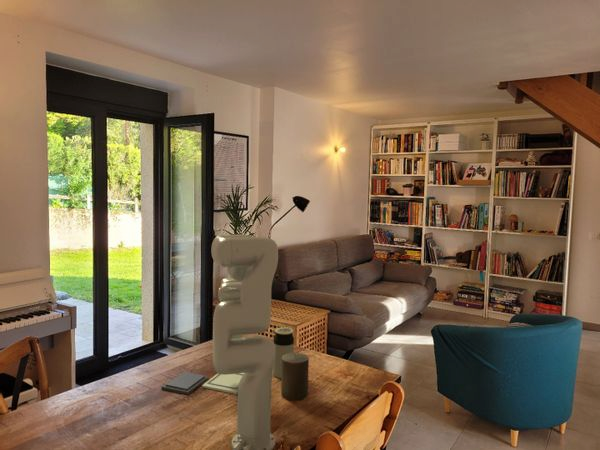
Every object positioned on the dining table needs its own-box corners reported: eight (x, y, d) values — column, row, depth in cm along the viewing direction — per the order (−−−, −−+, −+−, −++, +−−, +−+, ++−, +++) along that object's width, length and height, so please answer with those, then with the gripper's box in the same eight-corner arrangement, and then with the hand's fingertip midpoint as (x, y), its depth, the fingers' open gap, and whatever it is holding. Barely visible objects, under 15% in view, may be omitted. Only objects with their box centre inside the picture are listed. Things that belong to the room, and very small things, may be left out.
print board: (236, 394, 164) (236, 391, 164) (202, 387, 169) (202, 384, 169) (255, 376, 180) (255, 374, 179) (223, 370, 184) (223, 368, 184)
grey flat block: (187, 394, 163) (187, 390, 163) (161, 389, 167) (161, 385, 167) (208, 379, 176) (208, 375, 176) (183, 374, 180) (183, 370, 180)
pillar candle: (305, 402, 160) (306, 360, 159) (277, 398, 162) (278, 357, 160) (310, 390, 169) (311, 350, 168) (284, 387, 171) (285, 347, 170)
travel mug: (297, 375, 182) (298, 330, 180) (281, 380, 177) (282, 335, 175) (283, 368, 188) (285, 325, 186) (268, 374, 182) (269, 329, 181)
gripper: (228, 318, 163) (227, 368, 164) (249, 306, 179) (248, 352, 180) (209, 316, 165) (209, 365, 167) (232, 304, 181) (231, 349, 183)
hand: (229, 357), depth 174 cm, fingers closed on stamp, 5 cm apart
